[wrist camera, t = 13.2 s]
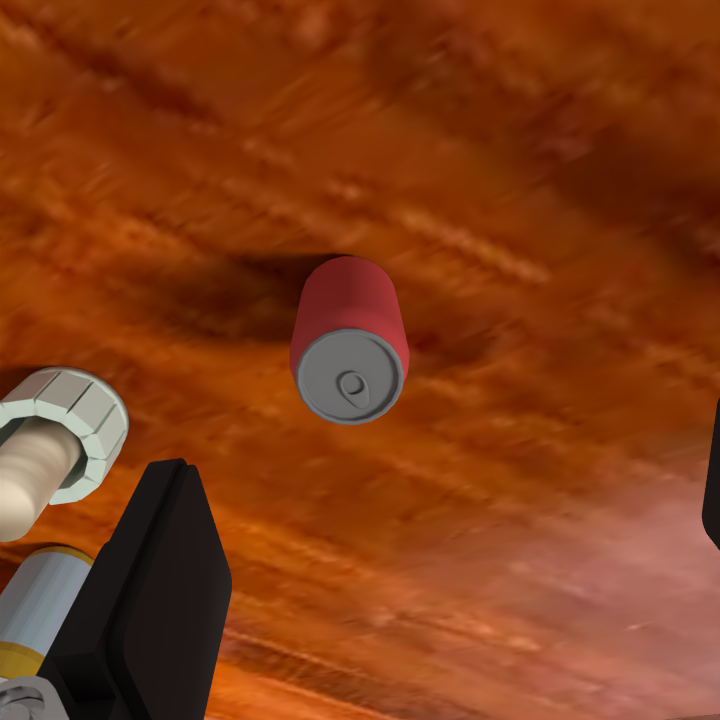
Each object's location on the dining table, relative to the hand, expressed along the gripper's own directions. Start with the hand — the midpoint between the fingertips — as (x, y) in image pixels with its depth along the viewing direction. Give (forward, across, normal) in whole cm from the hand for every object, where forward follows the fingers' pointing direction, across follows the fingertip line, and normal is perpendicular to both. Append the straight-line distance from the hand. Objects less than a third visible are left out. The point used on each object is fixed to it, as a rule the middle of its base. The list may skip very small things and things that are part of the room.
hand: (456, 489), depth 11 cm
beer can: (+31, +3, +7) cm, 31 cm away
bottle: (+31, +31, +28) cm, 52 cm away
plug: (+29, +25, +13) cm, 41 cm away
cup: (+30, +25, +13) cm, 41 cm away
